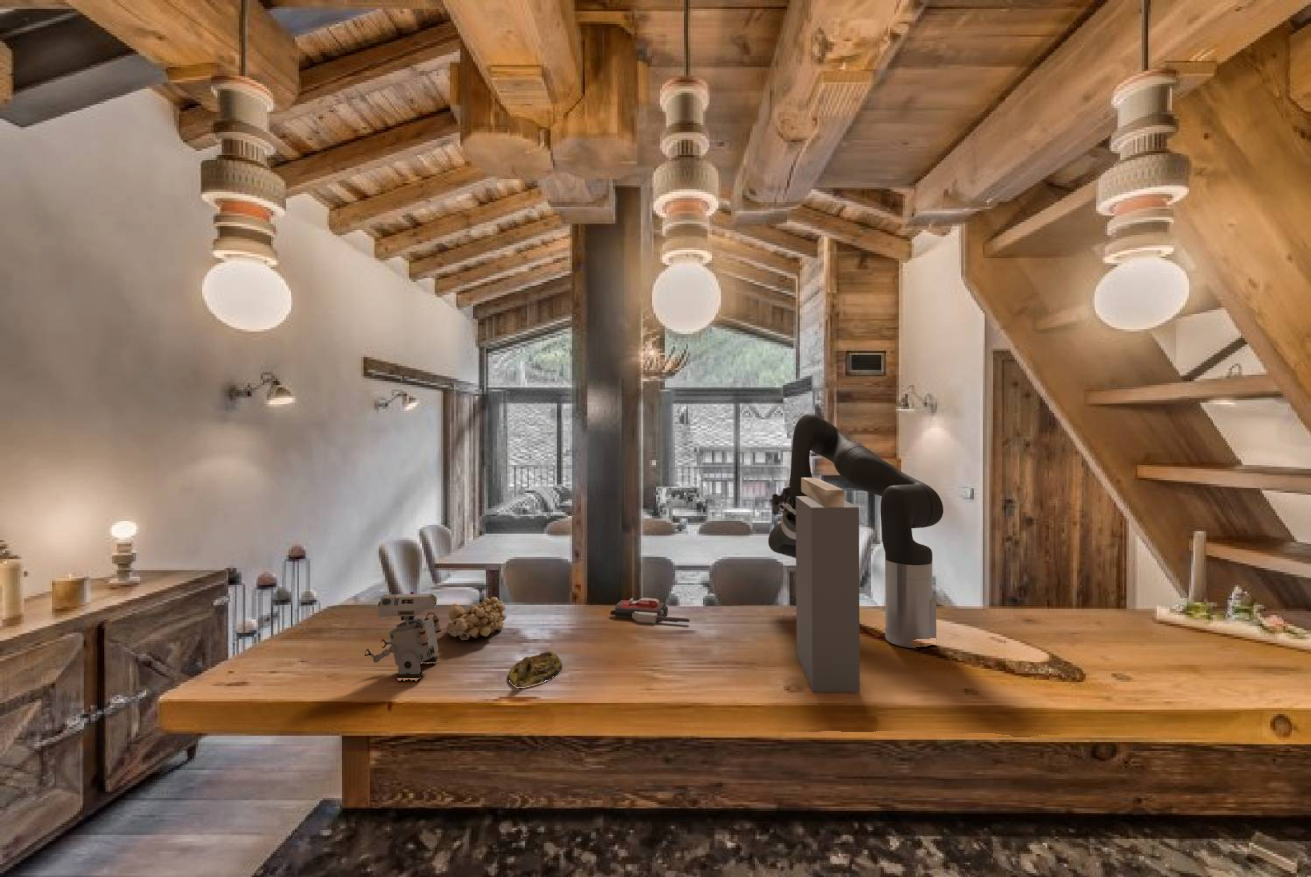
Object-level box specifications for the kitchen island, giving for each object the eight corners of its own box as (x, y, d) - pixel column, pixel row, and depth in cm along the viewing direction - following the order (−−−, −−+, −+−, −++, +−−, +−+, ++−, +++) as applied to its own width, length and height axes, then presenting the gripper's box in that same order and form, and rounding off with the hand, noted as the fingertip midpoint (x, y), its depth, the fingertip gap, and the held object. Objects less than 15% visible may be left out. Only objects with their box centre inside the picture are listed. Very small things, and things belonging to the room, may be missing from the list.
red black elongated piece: (606, 621, 141) (688, 628, 136) (606, 603, 141) (688, 609, 136) (618, 610, 150) (696, 616, 144) (618, 593, 150) (696, 598, 144)
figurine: (387, 663, 117) (386, 587, 116) (445, 662, 117) (444, 587, 116) (364, 683, 108) (362, 601, 107) (427, 682, 107) (425, 601, 107)
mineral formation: (510, 624, 138) (500, 643, 124) (452, 637, 137) (435, 658, 122) (504, 590, 139) (494, 606, 124) (446, 603, 137) (429, 619, 122)
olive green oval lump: (527, 662, 120) (496, 694, 105) (524, 639, 120) (493, 668, 105) (571, 659, 118) (546, 691, 104) (568, 635, 118) (543, 665, 104)
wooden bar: (815, 491, 125) (815, 477, 125) (844, 507, 101) (844, 490, 101) (801, 491, 125) (801, 477, 125) (826, 507, 101) (826, 490, 101)
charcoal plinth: (837, 656, 117) (836, 496, 117) (859, 692, 101) (859, 507, 101) (796, 655, 118) (795, 496, 117) (812, 691, 102) (811, 507, 101)
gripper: (766, 503, 140) (774, 474, 126) (827, 503, 139) (842, 474, 125) (768, 534, 136) (776, 507, 122) (831, 534, 135) (846, 507, 121)
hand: (809, 490), depth 123 cm, fingers open, 8 cm apart
